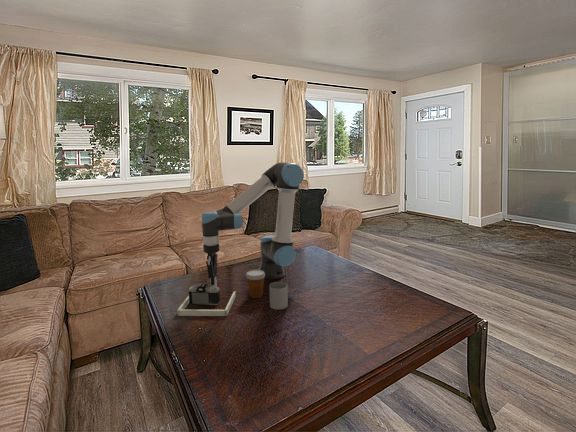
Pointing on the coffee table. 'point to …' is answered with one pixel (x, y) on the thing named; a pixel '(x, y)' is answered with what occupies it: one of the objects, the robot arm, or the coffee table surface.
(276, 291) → the cup
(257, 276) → the disposable coffee cup
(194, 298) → the camera
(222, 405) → the coffee table surface
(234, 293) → the docking bay
